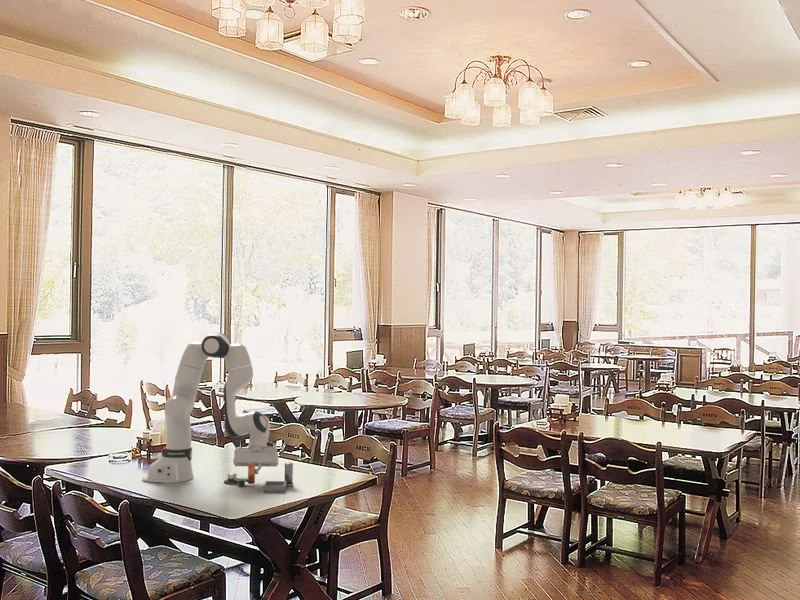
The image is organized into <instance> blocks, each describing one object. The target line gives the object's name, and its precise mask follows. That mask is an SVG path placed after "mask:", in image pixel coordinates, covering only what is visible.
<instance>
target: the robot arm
mask: <svg viewBox="0 0 800 600" xmlns="http://www.w3.org/2000/svg"><path fill="white" fill-rule="evenodd" d="M209 358H214V359H223V360H225V363H226V368H227V372H228V373H227V374H228V375H227V376H228V377H227V380H226V381H225V383H224V385H223V404H224V423H223V424H224V426H223V427H224V431H225V434H226V435H227V436H229V437H230V438H233V439H235V438H239V437H241V436H245V435H250V437H249V440H248V445H247V446H246V447H237V448H236V449H234V452H233V453H234V457H233V459H232V460H233V462H232V463H233V465H234V466H235V467H248V464H251V463H255V467H256V468H255V475H259V472H260V470H261V469H262V467H275V468H276V467H278V466H279V454H278V447H277V444H276V443H274V442H271V441H269V436H270V420H269V418H268V417H267V416H266V415H264V414H262V413H261V412H260V411H257V410H254V411H249V412H246V413H242V414H241V413H240V414H237V413H236V396H237V393H238V392H239V391H241V390H242V389H243V388H245V387H246V386H248V385H249V384H250V383H251V382H252V380H253V378H254V369H253V366H252V360H251V358H250V353H249V352H248V350H247V347H246V346H245V345H244V344H241V343H232V341H231V338H230V337H229V336H228V335H227V334H225V333H222V332H221V333H220V332H215V333H211V334H208V335H206V336H205V337H204V338H203V340H202V341H201V342H199V341H192V342H190V343H188V344H187V345H186V347H185V349H184V351H183V354H182V356H181V359H180V361H179V365H178V367H177V368H178V369H177V371H176V375H175V379H174V383H173V384H174V385H173V390H172V395H171V396H170V397H169V398H168V399H167V400H166V401H165V403H164V409H163V410H164V419H165V428H166V429H165V430H166V431H165V432H166V435H165V436H166V437H165V438H166V441H165V442H166V446H164V447H163V448H162V449H161V451H160V452H161V456H160V457H158V459H156V460H155V461H153V462H152V463H151V464H150V465H149V467H148V471H147V474H145V475H143V477H142V482H148V483H149V482H150V483H167V484H175V483H179V482H185V481H191V480H193V479H194V478H195V476H194V473H193V472H194V471H193V465H192V458H193V450H192V449H193V447H192V427H191V417H190V416H191V415H190V414H191V413H192V411H193V409H194V407H195V404H196V399H197V395H198V391H199V390H198V389H199V385H200V382H201V379H202V376H203V375H202V374H203V372H204V369H205V366H206V362H207V360H208V359H209Z"/></svg>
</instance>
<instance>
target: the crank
mask: <svg viewBox="0 0 800 600" xmlns="http://www.w3.org/2000/svg"><path fill="white" fill-rule="evenodd" d="M255 469H256V466H255V463H251V464H248V466H247V477H241V476H237V475H238V474H237V473H235V472H232V473H231V472H230V473H227V479H226V480H228V481H236V480H237V481H240V480H244V481H245V483H247V484H248V485H254V484H255V482H256V474H255Z"/></svg>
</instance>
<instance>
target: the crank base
mask: <svg viewBox="0 0 800 600" xmlns="http://www.w3.org/2000/svg"><path fill="white" fill-rule="evenodd" d="M223 483H224V484H225V485H237V484H239V481H237V480H236V481H228V480H227V479H224V480H223Z"/></svg>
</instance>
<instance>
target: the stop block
mask: <svg viewBox="0 0 800 600" xmlns="http://www.w3.org/2000/svg"><path fill="white" fill-rule="evenodd" d="M238 487H240V488H243V487H246V482H245V481H244V480H240V481H239V483H238Z"/></svg>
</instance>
